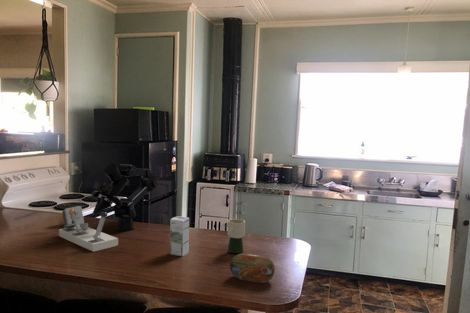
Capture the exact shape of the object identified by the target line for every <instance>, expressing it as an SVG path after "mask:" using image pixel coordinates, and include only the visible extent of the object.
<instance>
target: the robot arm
mask: <svg viewBox="0 0 470 313" xmlns="http://www.w3.org/2000/svg"><path fill="white" fill-rule="evenodd" d="M104 174H105V175H106V176H107V177H108V179H109V180H110V181H111V183H109V182H103V183H101V182H98V181H95V183H94V186H93V189H94V190H93V191H92V192H91V193H90V196H92V197H93V198H94V199H95V200H96V203H95V206H94V209H93V211H92V214H93V215H97V214H100V213H102V212H104V211H105V210H107V209H109V208H112V207H113V212H114V216H115V218H117V225H116V226H117V227H115V229H116V230H117V231H121V232H128V231H132V230H135V227H134V219H135V218H136V216H137V211H136V210H135V205H137V203H138V202H139V201H141V200H142V198H143V197H144V196H146V194H147V193H150V192H153V191H155V190H156V189H157V187H158V185H159V184H158V181H157V180H158V179H157V178H156V176H155V175H154V174H152V172H151V170H150V169H149V168H138V167H136V166H135V165H133V164H123V163H122V164H119V165H118V164H117V162H112V163H111V164H109V165H107V166H106V167H105V168H104ZM134 176H139V179H138V180H139V184H140V185H139V186H138V188H137V189H135V191H134V192H132V194H130V195H129V196H128V197H120V198H119V197H117V196H118V195H121V194H122V192H121V191H122V190H123V189H124V187H125V186H130V184H131V183H130V179H128V177H130V178H131V177H134ZM144 177H147V178H144ZM113 204H114V206H113Z"/></svg>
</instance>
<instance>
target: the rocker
mask: <svg viewBox="0 0 470 313" xmlns="http://www.w3.org/2000/svg"><path fill="white" fill-rule="evenodd" d="M74 227H75V225H74V224H68V225H65V224H64V225H63V229H64V228H67V229H69V228H74Z"/></svg>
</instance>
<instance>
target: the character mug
mask: <svg viewBox="0 0 470 313" xmlns="http://www.w3.org/2000/svg"><path fill="white" fill-rule="evenodd" d="M227 236H228V237H229V241H228V249H227V252H228V253H233V254H241V253H243V252H244V244H243V239H242V238H245V236H246V221H245V220H244V219H240V218H239V219H238V218H231V219H227Z"/></svg>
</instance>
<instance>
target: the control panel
mask: <svg viewBox="0 0 470 313" xmlns="http://www.w3.org/2000/svg"><path fill="white" fill-rule="evenodd" d="M76 230H77V229H76V226H75V227H74V228H69V229H67V228H64V227H63V228H60V229H58V236H59V237H61V238H62V239H65V240H67V241H69V242H71V243H73V244H76V245H77V246H80V247H82V248H84V249H87V250H88V251H91V252H97V251H101V250H105V249H110V248H114V247H117V246H119V238H118V237H116V236H113V235H110V234H107V233H105V232H102V231H101V233H100V236H99V237H100V240H96V239H93V236H94V235H95V233H96V230H97V229H94V228H91V227H89V226H88V229H84V230H83V233H79V232H77V231H76Z"/></svg>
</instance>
